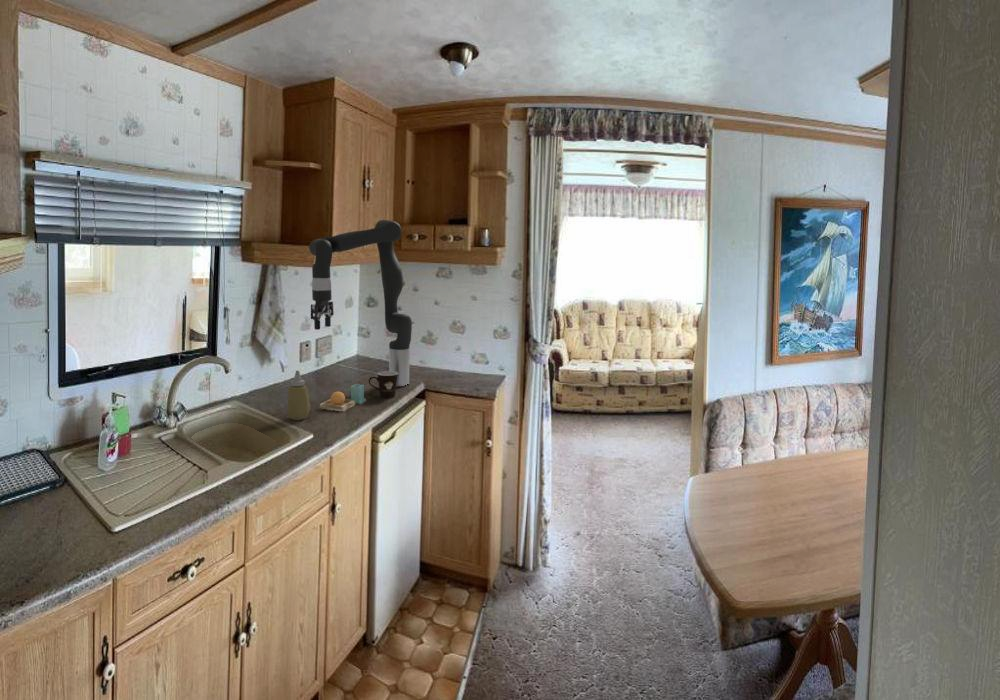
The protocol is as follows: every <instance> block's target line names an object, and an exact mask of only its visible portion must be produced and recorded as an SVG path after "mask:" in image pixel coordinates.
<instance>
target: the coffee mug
mask: <svg viewBox="0 0 1000 700" xmlns="http://www.w3.org/2000/svg"><path fill="white" fill-rule="evenodd" d="M397 377H398V373H397V372H393V371H389V370H387V371H386V370H385V371H379V372H377V376H371V377H369V379H368V384H369V385H370V387H372V388H374V389H375V390H378V392H379V397H380V398H383V399H390V398H391V397H392V398H395V397H396V394H397V393H396V392H397V386H396V385H397ZM372 379H375V380H376V381H377V382H378V387H376V386H374V385H373V384H372V382H371V381H372ZM392 398H391V399H392Z"/></svg>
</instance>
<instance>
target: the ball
mask: <svg viewBox="0 0 1000 700" xmlns="http://www.w3.org/2000/svg"><path fill="white" fill-rule="evenodd" d="M330 399H331V402H332V403H333V404H334V405H341V404H342V403H343V402H344V401H345V399H346V397H345V394H344V392H341V391H335V392H333V393H332V394H331V395H330Z"/></svg>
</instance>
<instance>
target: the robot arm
mask: <svg viewBox="0 0 1000 700" xmlns="http://www.w3.org/2000/svg"><path fill="white" fill-rule="evenodd" d="M402 231H403V230H402V226H401V225H400V224H399V223H398V222H396V221H394V220H389V219H381V220H378V221H377V222H376V224H375V225H374V228H370V229H369V228H368V229H363V230H362V229H361V230H353V231H348V232H344V233H339V234H336V235H333V236H326V237H319V238H315V239H314V240H312V241H311V242H310V244H309V245H308V249H310V250H309V252H310V253H311V255H313V256H315V260H314V263H313V264H312V269H311V271H312V272H311V273H312V279H311V292H312V294H311V295H312V296H311V297H312V301H315V303H314V304H312V303H311V304H310V319H311V320H313V322H314V323H313V324H314V330H317V331H318V330H321V318H322V316H323V315H324V326H325V327H328V328H329V327H331V326H332V325H331V324H332V323H331V321H332V319H331V318H332V317H333V316H334V313H335V312H334V302H333V301H332V298H333V297H332V282H331V281H332V280H331V264H332V259H333V254H334V253H341V252H346V251H351V250H354V249H358V248H361V247H365V246H368V245H374V244H376V245H377V249H378V255H379V263H380V265H379V266H380V271H381V272H380V273H381V282H382V288H383V299H384V323H385V327H386V330H387V332H388V333H391V334H397V336H396V339H394V340H391V341H389V345H388V351H389V353H388V357H389V360H388V363H389V364H388V366H389V367H388V368H389V369H388V371H393V372H397V373H398V377H397V385H396V387H406V386H408V385H407V384H409V385H410V346H411V345H410V344H411V342H412V331H413V330H412V329H413V328H412V327H413V325H412V324H413V323H412V322H413V321H412V318H411V316H410V315H408V314H406V313H399V311H398V299H399V298H400V295H401V293H402V291H403V287H404V278H403V270H402V267H401V264H400V262H399V260H398V257H397V255H396V253H395V249H394V242H396V241H398V240H399V239H400V238H401V236H402V233H403V232H402ZM405 385H406V386H405Z"/></svg>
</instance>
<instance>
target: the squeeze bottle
mask: <svg viewBox="0 0 1000 700" xmlns="http://www.w3.org/2000/svg"><path fill="white" fill-rule="evenodd" d="M309 396H310V395H309V390H308V386H306V385H305V380H304V379H303V378H302V377H301V373H300V370H295V373H294V378H293V379H292V380H291V381H290V386H289V387H288V390H287V404H286V405H287V406H286V407H287V408H286V411H287V413H288V416H289V418H290V420H292V419H293V421H303V420H306V419H308V416H309V414H310V411H311V410H310V409H311V405H310V397H309ZM302 419H303V420H302Z"/></svg>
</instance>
